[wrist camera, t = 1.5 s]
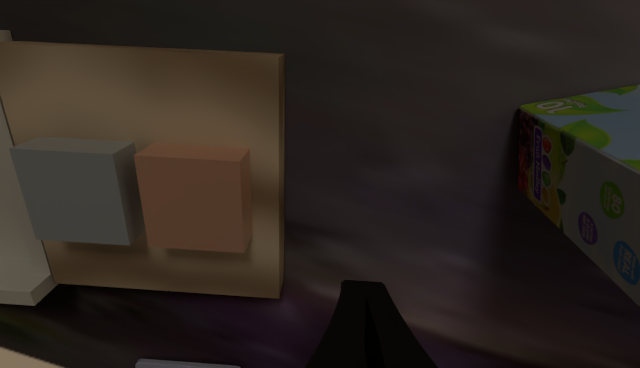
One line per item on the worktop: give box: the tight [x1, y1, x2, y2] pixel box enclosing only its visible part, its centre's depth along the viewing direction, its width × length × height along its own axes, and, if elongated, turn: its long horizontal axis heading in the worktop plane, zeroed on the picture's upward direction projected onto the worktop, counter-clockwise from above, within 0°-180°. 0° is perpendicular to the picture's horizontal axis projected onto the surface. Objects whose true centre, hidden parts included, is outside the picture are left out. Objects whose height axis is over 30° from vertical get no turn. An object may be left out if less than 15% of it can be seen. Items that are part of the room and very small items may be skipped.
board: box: [0, 41, 285, 299], centre depth 21 cm, size 14×14×2 cm
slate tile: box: [9, 137, 146, 246], centre depth 20 cm, size 5×5×2 cm
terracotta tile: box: [134, 143, 253, 253], centre depth 19 cm, size 5×5×2 cm
